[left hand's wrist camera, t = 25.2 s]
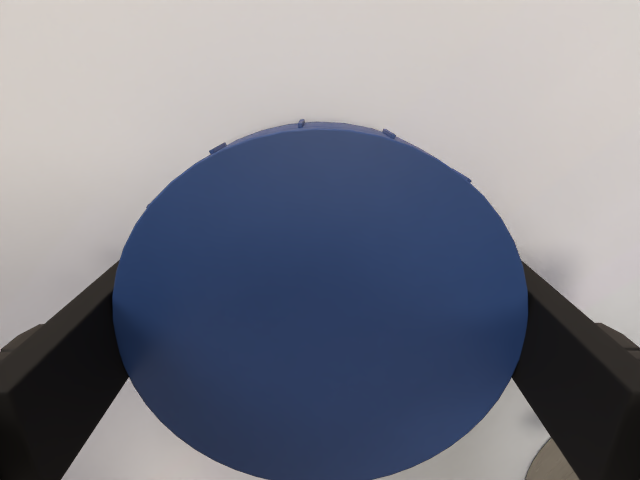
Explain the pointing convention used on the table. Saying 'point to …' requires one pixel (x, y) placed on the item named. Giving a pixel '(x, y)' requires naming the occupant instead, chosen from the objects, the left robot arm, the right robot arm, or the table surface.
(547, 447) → the jar
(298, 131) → the lid
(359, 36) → the table surface
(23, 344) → the left robot arm
